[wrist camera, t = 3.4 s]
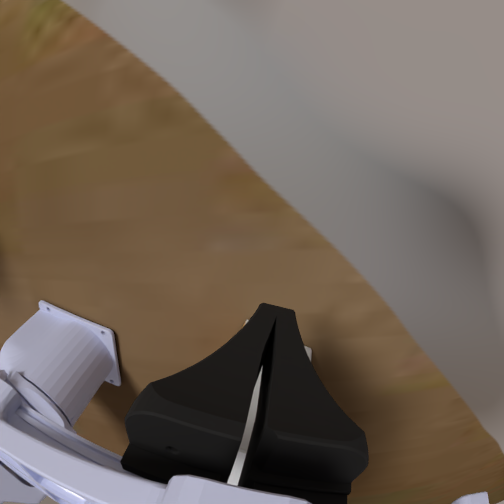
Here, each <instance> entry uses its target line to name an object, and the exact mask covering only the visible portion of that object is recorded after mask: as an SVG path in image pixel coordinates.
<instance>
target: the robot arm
mask: <svg viewBox="0 0 504 504" xmlns="http://www.w3.org/2000/svg"><path fill="white" fill-rule="evenodd" d="M39 308H40V310H39V311H37V312H36V313H35V314H34V315H33V316H32V317H31V318H30V319H29V320H28V321H27V322H25V323H24V324H23V325H22V326H21V327H20V328H19V329H18V330H17V331H16V332H15V333H14V334H13V335H12V336H11V337H10V338H9V339H8V340H7V341H6V342H5V344H4V345H3V347H2V349H1V352H0V504H3V503H4V502H17V503H29V504H39V503H40V502H41V501H42V500H44V499H45V497H46V496H49V497H50V498H52V499H53V500H55V501H56V502H58V503H59V504H347V495H349V494H350V492H351V482H352V481H353V480H354V479H355V478H356V477H357V476H359V475H360V474H361V473H362V472H363V471H364V470H365V468H366V467H367V466H368V460H369V459H368V447H367V442H366V437H365V433H364V431H363V430H362V429H360V428H359V427H358V426H357V425H356V424H355V423H354V422H353V421H352V420H351V419H350V418H349V417H348V416H347V415H346V414H345V413H344V412H343V410H342V409H341V408H340V407H339V406H338V405H337V403H336V402H335V401H334V399H333V398H332V397H331V395H330V394H329V393H328V391H327V390H326V388H325V387H324V385H323V384H322V382H321V380H320V379H319V377H318V375H317V373H316V371H315V370H314V368H313V366H312V363H311V361H310V359H309V357H308V354H307V352H306V350H305V347H304V344H303V341H302V338H301V335H300V332H299V329H298V325H297V321H296V316H295V312H294V310H291V309H287V308H283V307H278V306H274V305H270V304H266V303H262V304H260V305H259V307H258V309H257V310H256V312H255V313H254V315H253V316H252V317H251V318H250V320H249V321H248V322H247V323H246V324H245V325H244V326H243V328H242V329H241V330H240V331H239V332H238V333H237V334H236V335H234V336H233V337H232V338H231V339H230V340H229V341H228V342H227V343H226V344H224V345H223V346H222V347H221V348H219V349H218V350H217V351H215V352H214V353H212V354H211V355H209V356H208V357H206V358H205V359H203V360H202V361H200V362H198V363H197V364H195V365H193V366H191V367H189V368H187V369H185V370H183V371H180V372H178V373H176V374H174V375H171V376H169V377H166V378H163V379H160V380H157V381H154V382H151V383H149V384H148V385H147V386H146V388H145V389H144V390H143V391H142V392H141V393H140V394H139V396H138V397H137V398H136V400H135V401H134V403H133V404H132V406H131V408H130V410H129V411H128V413H127V415H126V417H125V426H126V430H127V434H128V438H129V442H130V444H129V446H128V447H127V449H126V451H125V453H124V455H123V457H122V456H120V455H117V454H115V453H113V452H111V451H109V450H106V449H104V448H102V447H100V446H98V445H96V444H94V443H92V442H90V441H88V440H86V439H84V438H82V437H80V436H78V435H76V431H75V430H74V429H73V428H72V427H73V426H74V424H75V423H76V421H77V420H78V418H79V417H80V415H81V414H82V412H83V411H84V409H85V408H86V406H87V405H88V403H89V402H90V400H91V399H92V397H93V396H94V395H95V393H96V392H97V390H98V389H99V387H100V386H101V384H102V383H103V382H104V381H107V382H109V383H111V384H114V385H116V386H120V385H121V377H120V371H119V365H118V359H117V352H116V344H115V337H114V332H113V331H112V330H111V329H109V328H106V327H103V326H101V325H98V324H96V323H93V322H91V321H88V320H86V319H84V318H81V317H79V316H77V315H74V314H72V313H70V312H67V311H65V310H63V309H60V308H58V307H56V306H54V305H51V304H49V303H47V302H45V301H43V300H41V301H40V302H39ZM261 368H262V374H261V382H260V390H259V397H258V405H257V412H256V417H255V422H254V426H253V430H252V434H251V438H250V441H249V445H248V449H247V453H246V457H245V460H244V464H243V468H242V471H241V475H240V478H239V482H238V485H237V486H236V485H231V484H227V482H228V479H229V477H230V474H231V471H232V468H233V465H234V462H235V459H236V457H237V454H238V451H239V448H240V445H241V442H242V438H243V434H244V430H245V427H246V422H247V418H248V413H249V409H250V404H251V400H252V396H253V391H254V387H255V385H256V382H257V379H258V377H259V374H260V371H261ZM451 504H489V500H488V495H487V492H480V493H475V494H469V495H465V496H462V497H460V498H458V499H456V500H455V501H454V502H452V503H451Z"/></svg>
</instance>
